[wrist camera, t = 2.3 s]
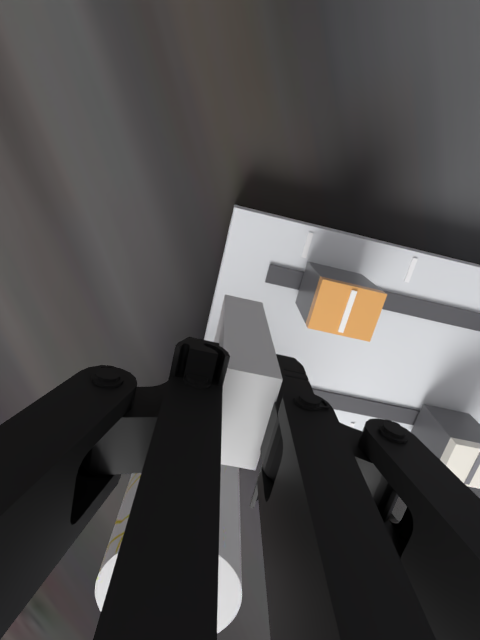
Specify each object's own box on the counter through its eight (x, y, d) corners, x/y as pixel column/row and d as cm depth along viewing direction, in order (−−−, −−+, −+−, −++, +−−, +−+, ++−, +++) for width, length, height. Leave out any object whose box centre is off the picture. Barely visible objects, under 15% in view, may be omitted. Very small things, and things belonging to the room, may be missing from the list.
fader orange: (307, 261, 26) (323, 279, 22) (361, 273, 27) (388, 294, 22) (295, 302, 27) (307, 328, 23) (347, 314, 28) (370, 342, 23)
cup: (207, 398, 33) (194, 517, 21) (255, 472, 35) (267, 614, 24) (120, 441, 34) (65, 575, 23) (173, 509, 36) (146, 662, 25)
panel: (234, 204, 28) (234, 207, 25) (558, 284, 30) (587, 294, 28) (190, 397, 33) (187, 415, 30) (473, 453, 35) (491, 475, 32)
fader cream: (422, 403, 30) (457, 445, 25) (469, 413, 30) (511, 455, 26) (408, 436, 31) (439, 481, 26) (454, 445, 31) (491, 491, 27)
